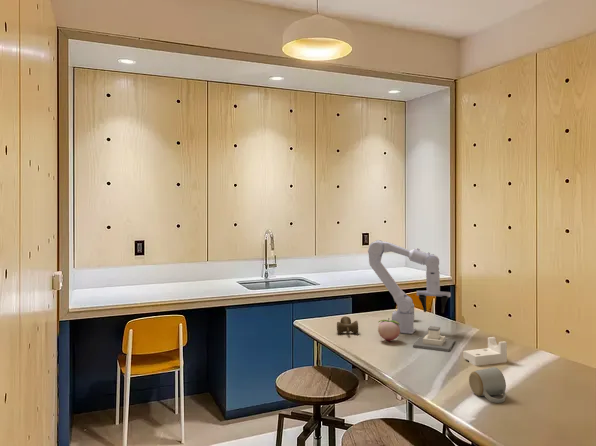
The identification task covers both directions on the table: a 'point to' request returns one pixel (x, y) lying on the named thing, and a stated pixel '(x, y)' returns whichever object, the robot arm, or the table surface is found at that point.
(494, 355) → the bracket
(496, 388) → the ceramic mug
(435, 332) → the block
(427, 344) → the outlet plate
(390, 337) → the decorative fruit
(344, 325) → the kendama
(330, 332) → the table surface
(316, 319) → the table surface
